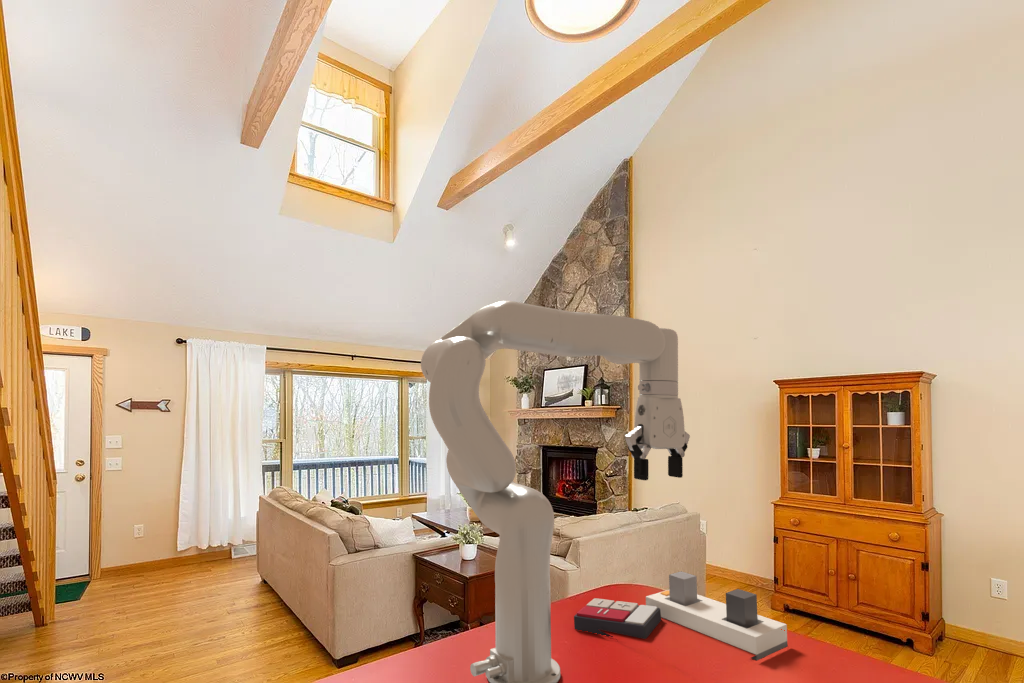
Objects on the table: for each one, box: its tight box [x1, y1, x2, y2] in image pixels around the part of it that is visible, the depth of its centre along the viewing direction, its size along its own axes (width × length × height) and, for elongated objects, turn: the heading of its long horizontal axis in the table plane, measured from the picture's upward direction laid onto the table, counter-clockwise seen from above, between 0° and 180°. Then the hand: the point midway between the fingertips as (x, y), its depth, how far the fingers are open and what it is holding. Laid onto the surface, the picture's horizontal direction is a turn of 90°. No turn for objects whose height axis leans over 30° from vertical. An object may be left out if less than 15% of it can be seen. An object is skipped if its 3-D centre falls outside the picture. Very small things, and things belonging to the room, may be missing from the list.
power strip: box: [645, 589, 788, 661], centre depth 118 cm, size 10×26×4 cm, turn 35°
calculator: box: [573, 597, 662, 640], centre depth 120 cm, size 11×4×15 cm
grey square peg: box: [668, 571, 698, 606], centre depth 124 cm, size 4×4×8 cm
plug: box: [725, 588, 758, 628], centre depth 113 cm, size 4×4×8 cm
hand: (658, 478), depth 115 cm, fingers open, 9 cm apart
